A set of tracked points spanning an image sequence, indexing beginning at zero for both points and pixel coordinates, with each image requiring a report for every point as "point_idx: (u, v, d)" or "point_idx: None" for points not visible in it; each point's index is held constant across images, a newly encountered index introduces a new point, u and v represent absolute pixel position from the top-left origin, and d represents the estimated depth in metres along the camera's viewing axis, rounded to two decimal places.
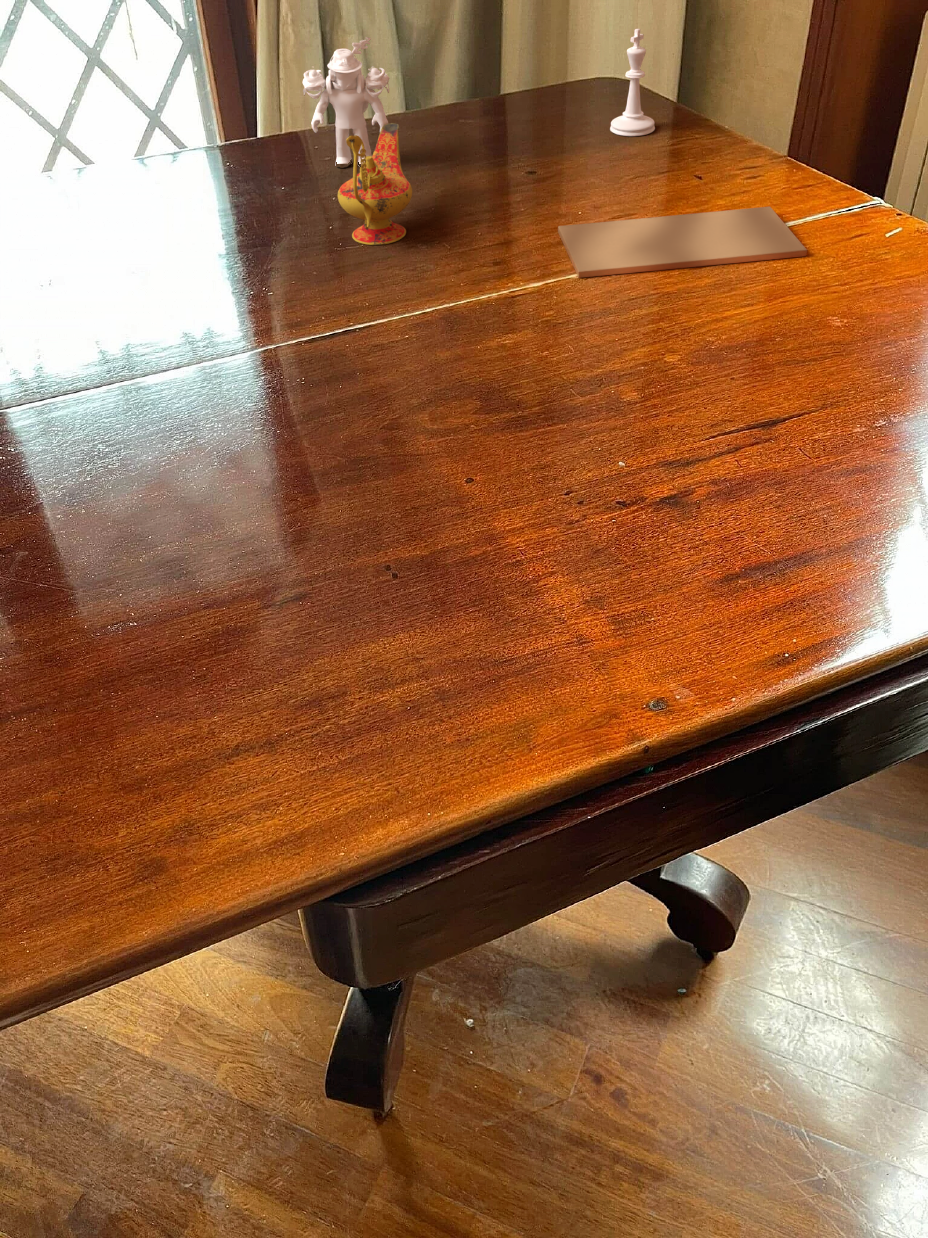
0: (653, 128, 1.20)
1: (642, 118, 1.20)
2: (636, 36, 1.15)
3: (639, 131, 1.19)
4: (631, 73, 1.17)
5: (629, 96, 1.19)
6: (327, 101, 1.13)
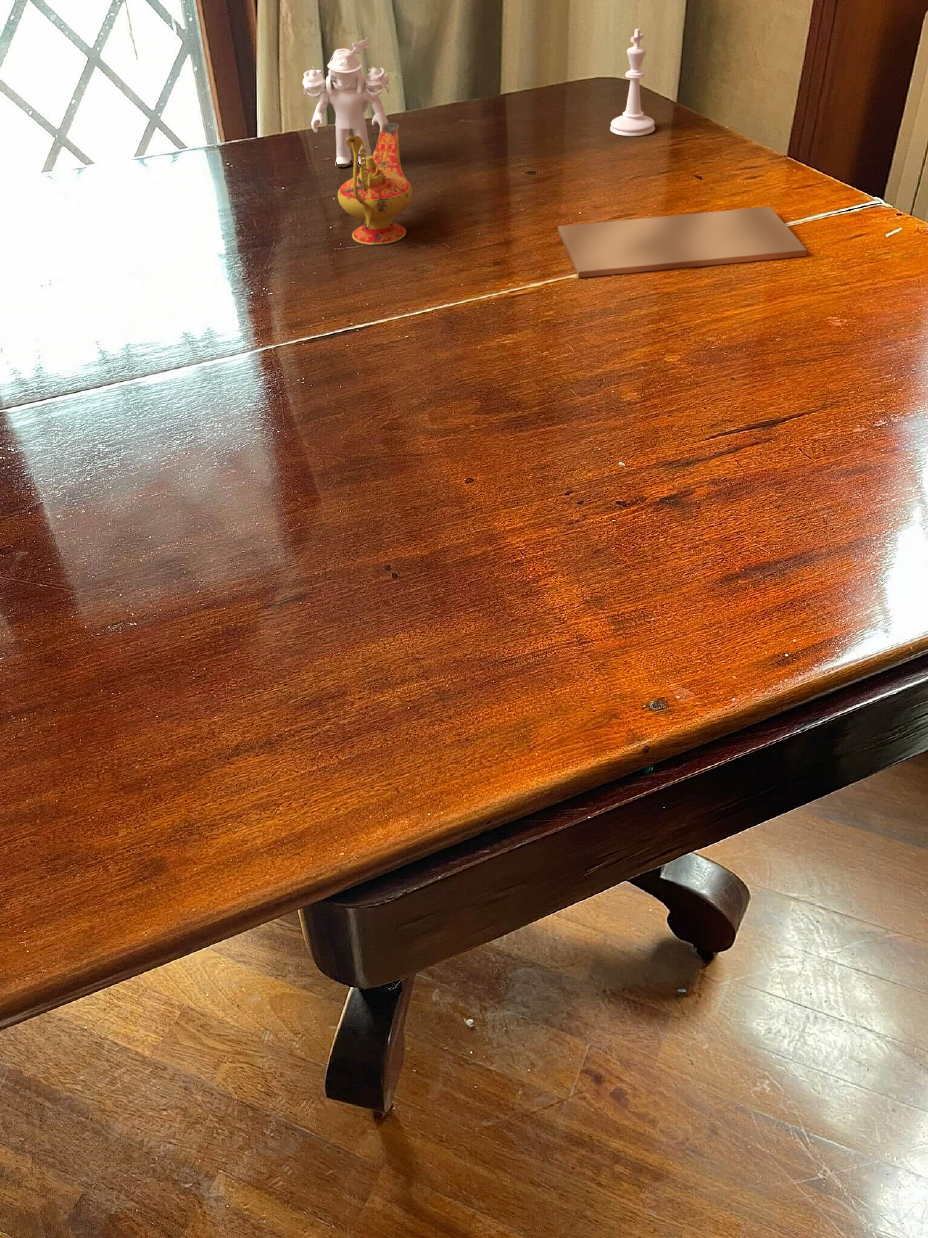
0: (653, 128, 1.20)
1: (642, 118, 1.20)
2: (636, 36, 1.15)
3: (639, 131, 1.19)
4: (631, 73, 1.17)
5: (629, 96, 1.19)
6: (327, 101, 1.13)
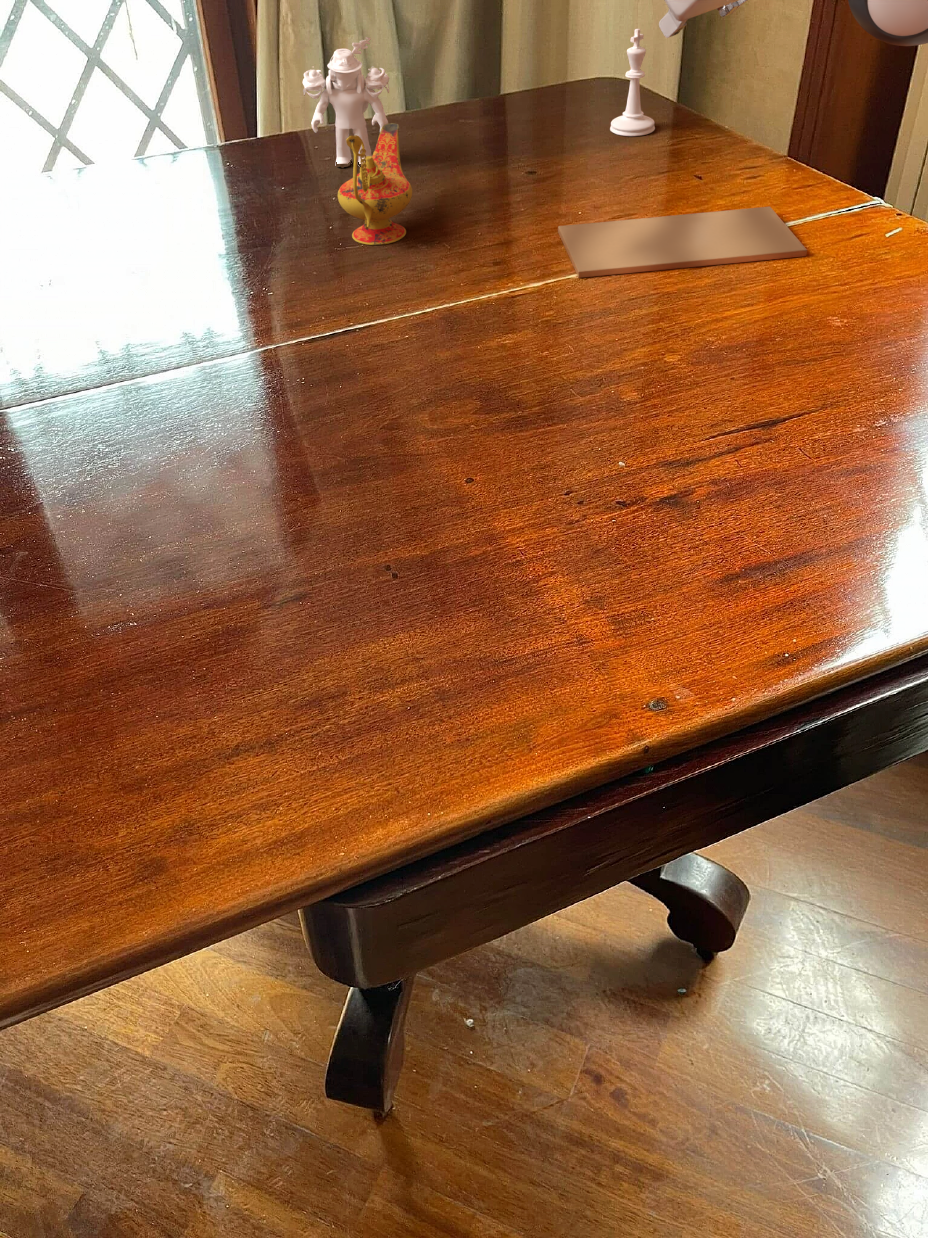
0: (653, 128, 1.20)
1: (642, 118, 1.20)
2: (636, 36, 1.15)
3: (639, 131, 1.19)
4: (631, 73, 1.17)
5: (629, 96, 1.19)
6: (327, 101, 1.13)
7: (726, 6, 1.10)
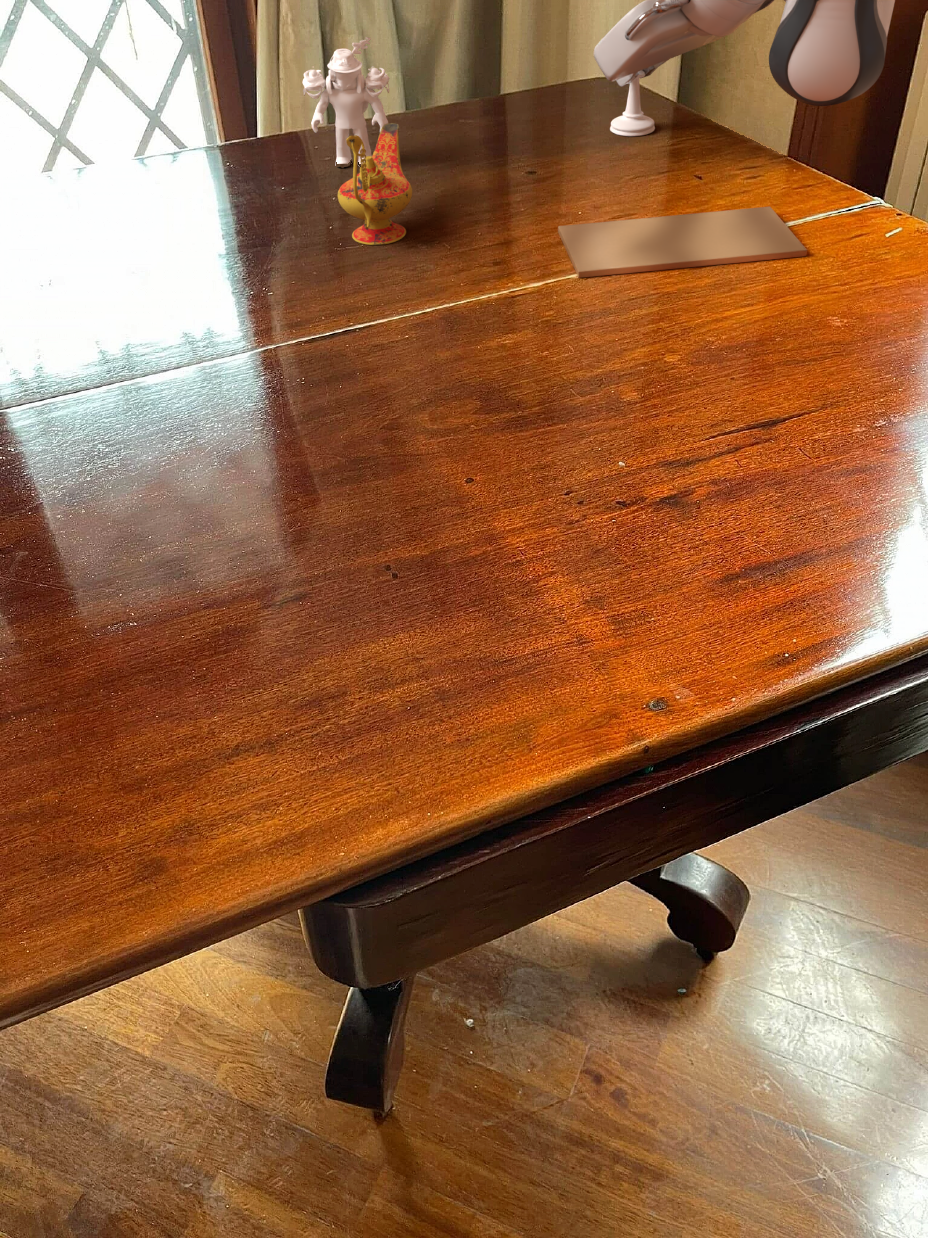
0: (653, 128, 1.20)
1: (642, 118, 1.20)
2: None
3: (639, 131, 1.19)
4: None
5: (629, 96, 1.19)
6: (327, 101, 1.13)
7: (643, 69, 1.18)
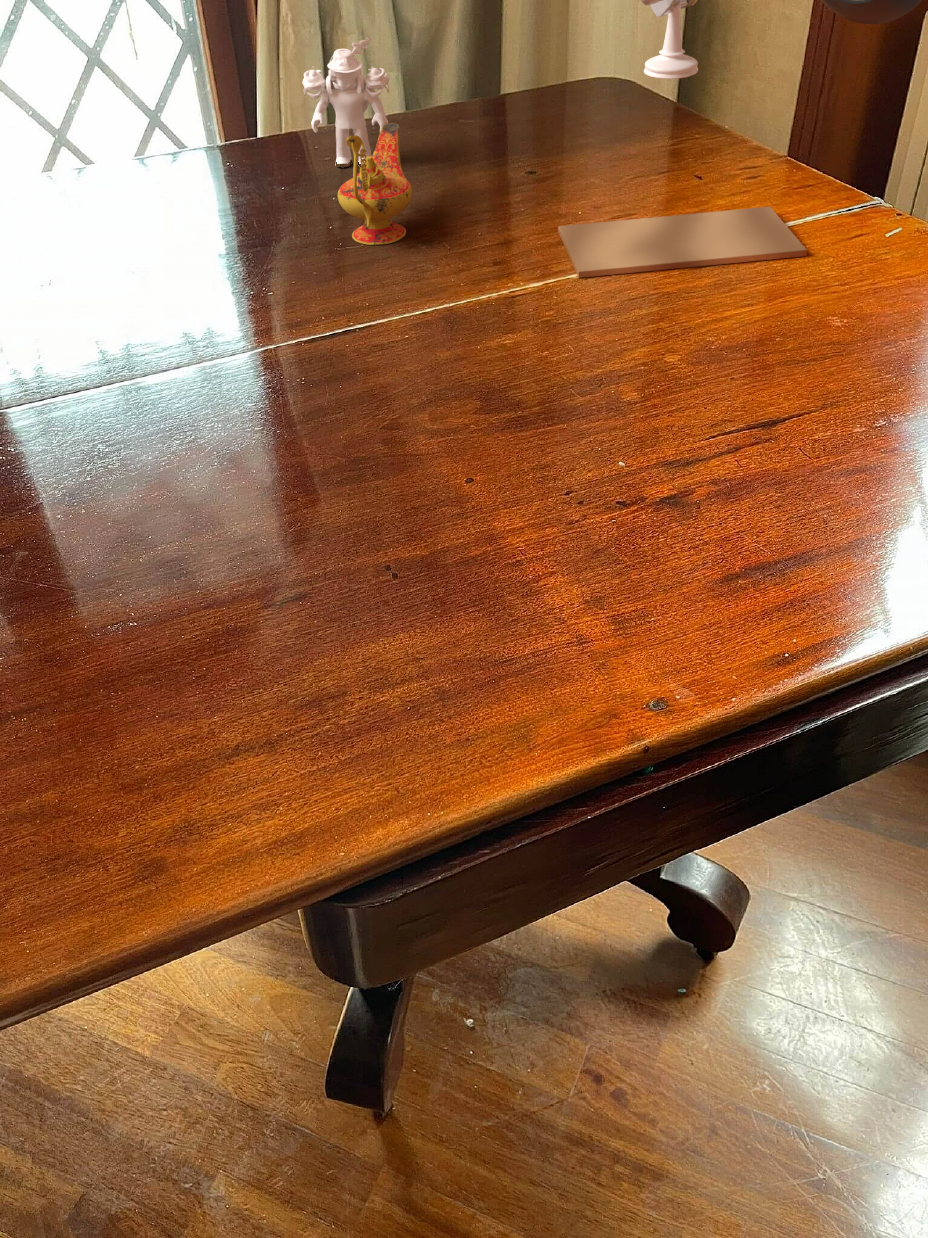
0: (696, 69, 1.00)
1: (683, 57, 0.99)
2: None
3: (679, 73, 0.98)
4: None
5: (667, 30, 0.98)
6: (327, 101, 1.13)
7: None
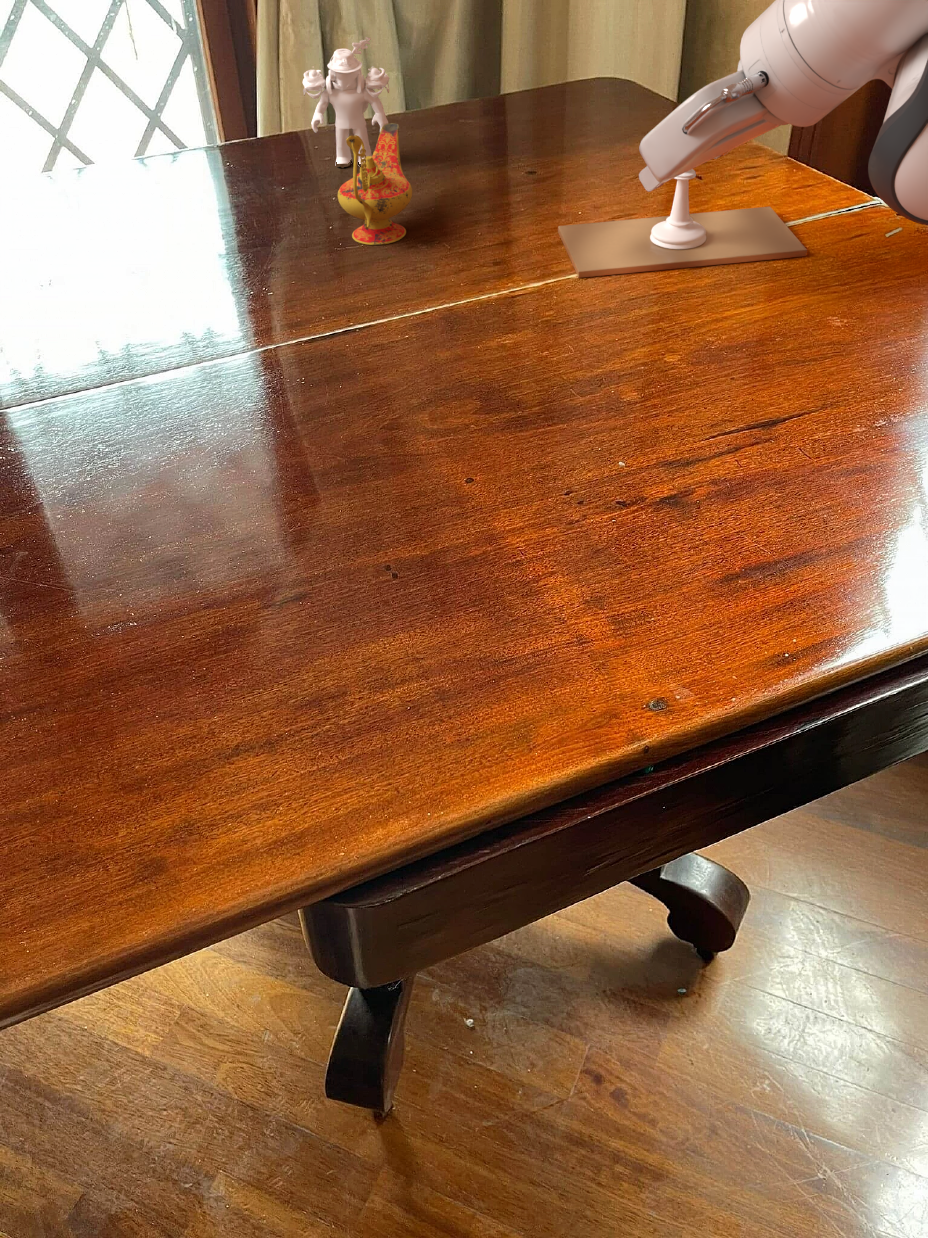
0: (704, 238, 0.96)
1: (691, 226, 0.96)
2: None
3: (687, 243, 0.95)
4: None
5: (675, 200, 0.95)
6: (327, 101, 1.13)
7: None
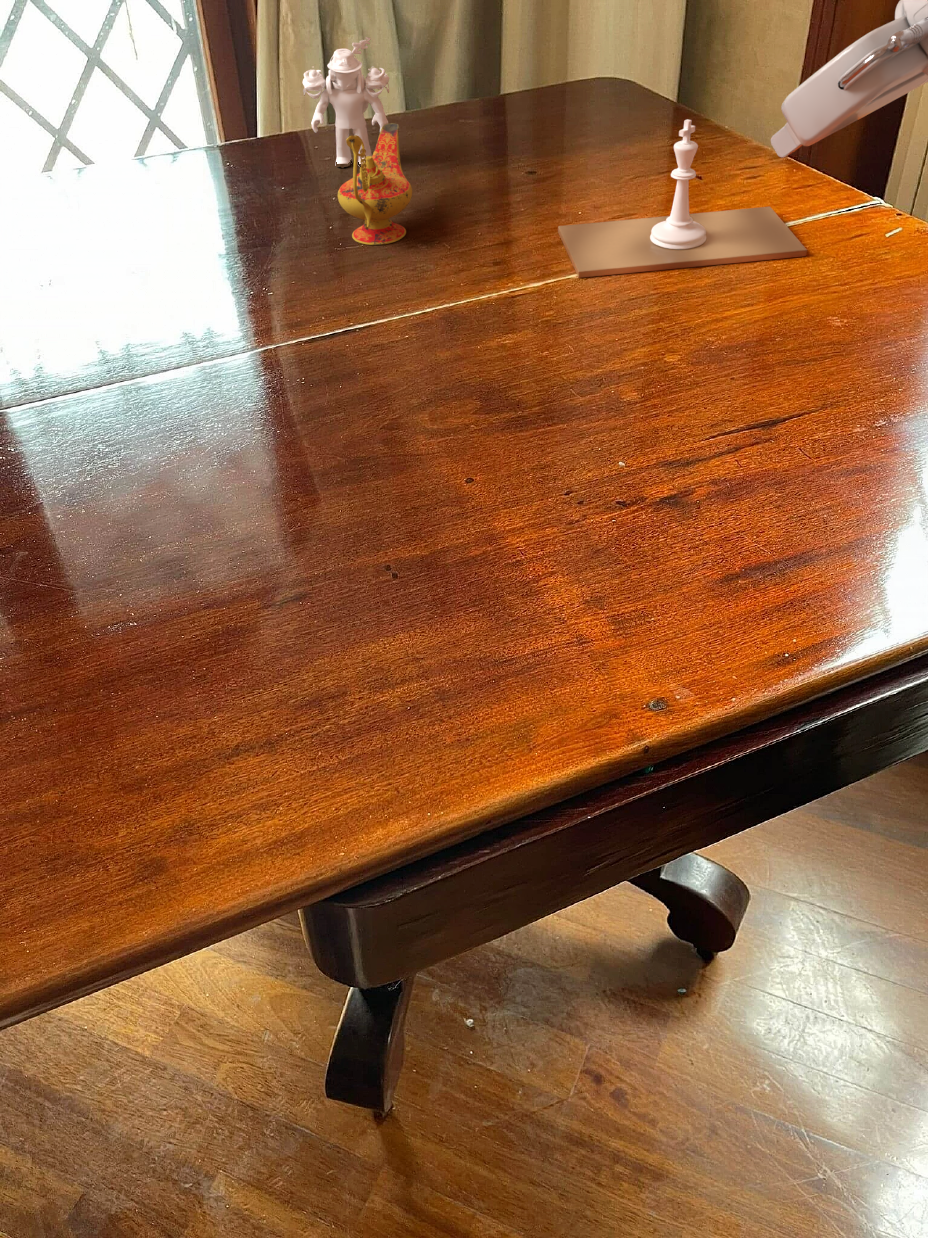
0: (704, 238, 0.96)
1: (691, 226, 0.96)
2: (686, 128, 0.91)
3: (687, 243, 0.95)
4: (679, 173, 0.93)
5: (675, 200, 0.95)
6: (327, 101, 1.13)
7: None
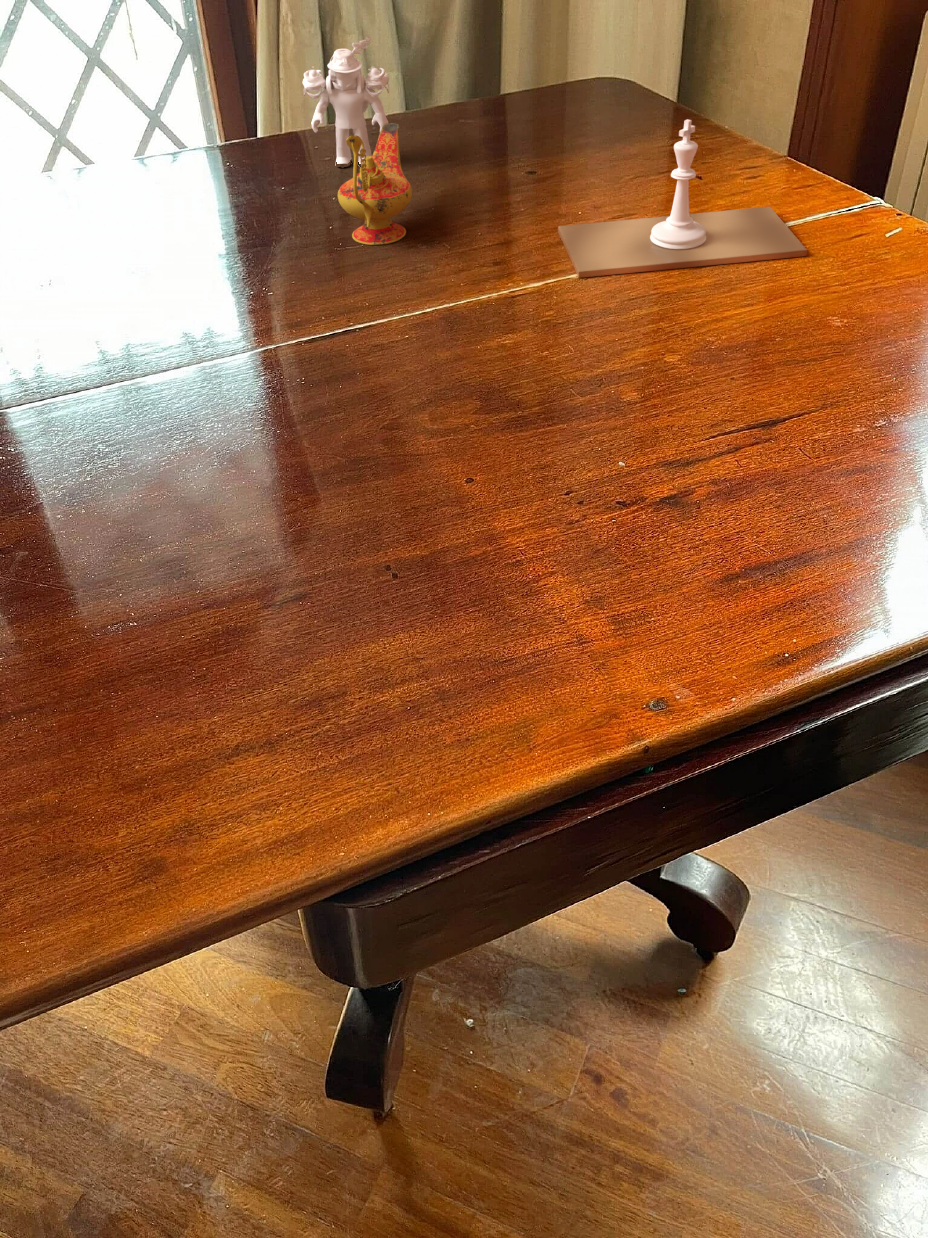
0: (704, 238, 0.96)
1: (691, 226, 0.96)
2: (686, 128, 0.91)
3: (687, 243, 0.95)
4: (679, 173, 0.93)
5: (675, 200, 0.95)
6: (327, 101, 1.13)
7: None
